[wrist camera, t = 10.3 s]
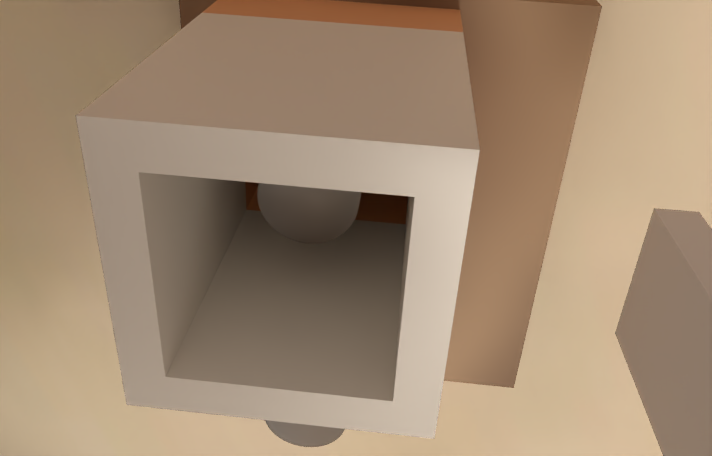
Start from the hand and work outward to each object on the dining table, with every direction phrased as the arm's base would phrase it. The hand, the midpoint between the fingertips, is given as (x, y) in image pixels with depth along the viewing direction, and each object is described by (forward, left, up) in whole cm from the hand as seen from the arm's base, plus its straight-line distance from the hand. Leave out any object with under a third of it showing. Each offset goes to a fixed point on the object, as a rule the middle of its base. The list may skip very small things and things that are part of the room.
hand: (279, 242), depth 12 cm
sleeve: (0, 0, -6) cm, 6 cm away
